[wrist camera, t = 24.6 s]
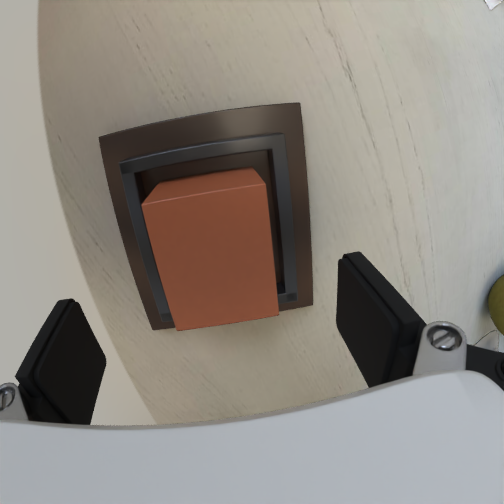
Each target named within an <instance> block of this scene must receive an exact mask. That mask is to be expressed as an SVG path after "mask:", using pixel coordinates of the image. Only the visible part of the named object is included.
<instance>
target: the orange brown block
mask: <svg viewBox="0 0 504 504" xmlns="http://www.w3.org/2000/svg"><path fill="white" fill-rule="evenodd" d="M141 206H142V210H143V214H144V219H145V223H146V227H147V231H148V235H149V238H150V242H151V246H152V250H153V254H154V257H155V261H156V264H157V268H158V272H159V275H160V278H161V282H162V285H163V289H164V292H165V295H166V298H167V302H168V305H169V308H170V311H171V314H172V317H173V321H174V324H175V327H176V330H177V331H182V330H189V329H196V328H204V327H210V326H217V325H224V324H230V323H237V322H243V321H249V320H255V319H261V318H266V317H272V316H278V315H279V307H278V296H277V286H276V276H275V266H274V256H273V246H272V236H271V227H270V217H269V208H268V199H267V190H266V184H265V182H264V181H263V180H262V179H261V177H260V176H259V175H258V173H257V172H256V171H255V170H254V168H253V167H252V166H249V167H241V168H235V169H228V170H222V171H215V172H209V173H203V174H198V175H192V176H186V177H181V178H175V179H170V180H165V181H160V182H159V183H158V184H157V186H156V187H155V188H154V189H153V191H152V192H151V193H150V194H149V196H148V197H147V198H146V199H145V201H144V202H143V203H142V205H141Z"/></svg>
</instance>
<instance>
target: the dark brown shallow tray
mask: <svg viewBox="0 0 504 504" xmlns="http://www.w3.org/2000/svg"><path fill="white" fill-rule="evenodd" d="M99 143H100V148H101V153H102V158H103V163H104V168H105V172H106V177H107V181H108V186H109V190H110V194H111V198H112V202H113V206H114V210H115V214H116V218H117V222H118V226H119V229H120V233H121V236H122V240H123V243H124V247H125V250H126V253H127V257H128V260H129V263H130V266H131V270H132V273H133V276H134V279H135V282H136V285H137V288H138V291H139V294H140V297H141V300H142V302H143V305H144V308H145V311H146V314H147V316H148V319H149V322H150V324H151V327H152V330H160V329H168V328H176V327H175V324H174V321H173V317H172V314H171V311H170V308H169V305H168V302H167V298H166V295H165V292H164V289H163V285H162V282H161V278H160V275H159V272H158V268H157V264H156V261H155V257H154V254H153V250H152V246H151V242H150V238H149V235H148V231H147V227H146V223H145V219H144V214H143V210H142V206H141V205H142V203H143V202H144V201H145V199H146V198H147V197H148V196H149V194H150V193H151V192H152V191H153V189H154V188H155V187H156V186H157V184H158V183H159V182H160V181H165V180H170V179H175V178H181V177H186V176H192V175H198V174H203V173H209V172H215V171H222V170H228V169H235V168H241V167H249V166H252V167H253V168H254V170H255V171H256V172H257V173H258V175H259V176H260V177H261V179H262V180H263V181H264V182H265V184H266V190H267V199H268V208H269V217H270V227H271V236H272V246H273V256H274V266H275V276H276V286H277V296H278V307H279V311H284V310H290V309H295V308H300V307H305V306H310V305H313V279H312V251H311V230H310V212H309V196H308V182H307V169H306V157H305V146H304V135H303V125H302V116H301V107H300V103H284V104H272V105H262V106H252V107H244V108H236V109H228V110H221V111H215V112H208V113H202V114H196V115H191V116H185V117H180V118H175V119H170V120H165V121H160V122H156V123H151V124H147V125H143V126H138V127H134V128H130V129H126V130H123V131H119V132H115V133H111V134H108V135H104V136H101V137H99Z"/></svg>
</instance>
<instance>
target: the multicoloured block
mask: <svg viewBox="0 0 504 504" xmlns="http://www.w3.org/2000/svg"><path fill="white" fill-rule="evenodd" d="M502 1H503V0H485V2H486V3H487V5H488V7H489V8H490V10H491V9H493V8H494V7H495V6H497V5H498V4H499V3H501V2H502Z"/></svg>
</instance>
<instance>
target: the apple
mask: <svg viewBox="0 0 504 504" xmlns="http://www.w3.org/2000/svg"><path fill="white" fill-rule="evenodd" d="M488 306H489V312H490V315H491V318H492V320H493V322H494V324H495V326H496V327H497V329H498V330H499V331H500V332H501V334H503V335H504V275H503V276H501V277H500V278H499V279H498V280H497V281H496V282H495V284H494V285H493V287H492V289H491V291H490V294H489V298H488Z"/></svg>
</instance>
